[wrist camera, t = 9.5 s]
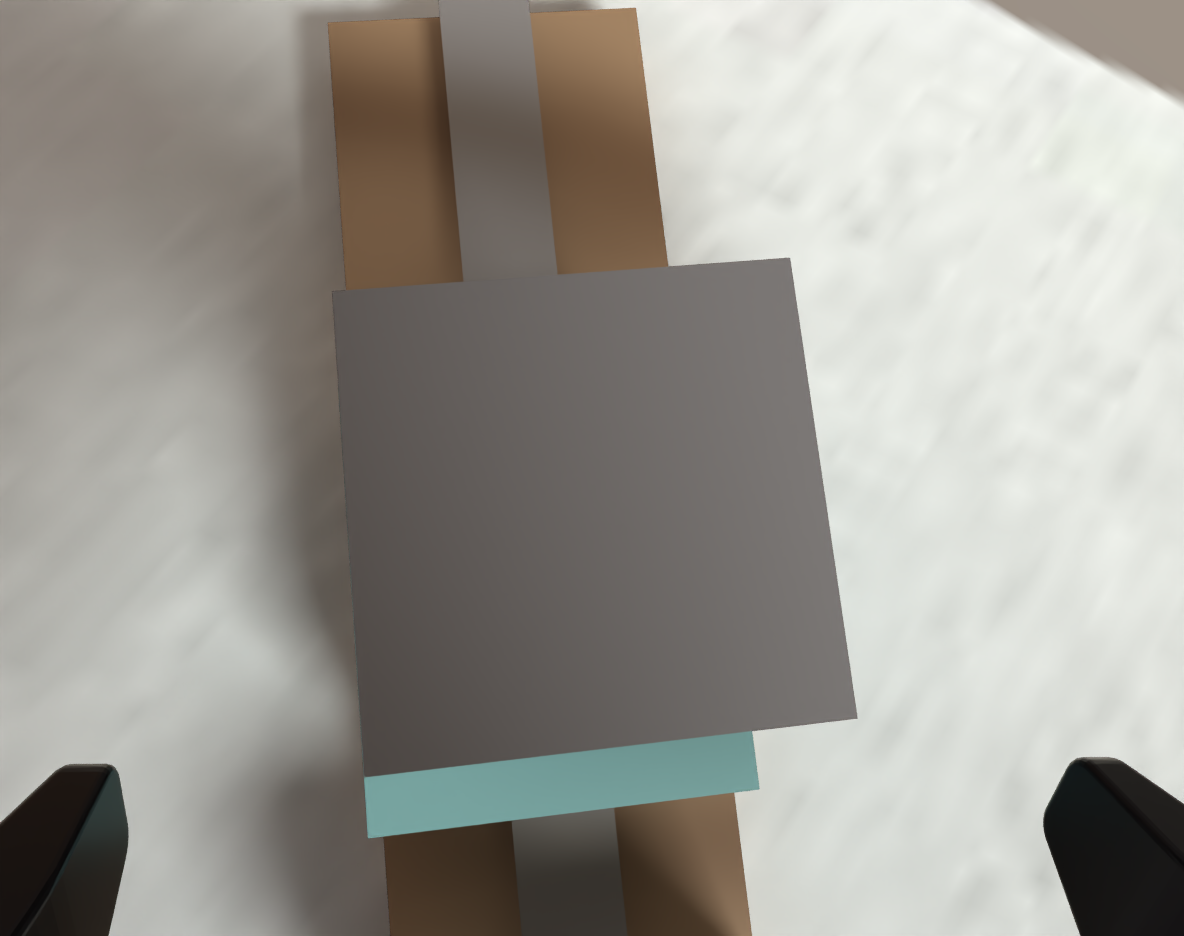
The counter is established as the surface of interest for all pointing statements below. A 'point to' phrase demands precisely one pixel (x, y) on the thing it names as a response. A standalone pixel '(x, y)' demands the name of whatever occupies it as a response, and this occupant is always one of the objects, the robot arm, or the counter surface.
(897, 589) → the counter surface
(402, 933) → the rail
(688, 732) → the carriage
